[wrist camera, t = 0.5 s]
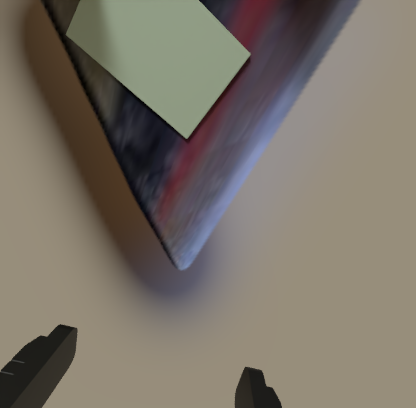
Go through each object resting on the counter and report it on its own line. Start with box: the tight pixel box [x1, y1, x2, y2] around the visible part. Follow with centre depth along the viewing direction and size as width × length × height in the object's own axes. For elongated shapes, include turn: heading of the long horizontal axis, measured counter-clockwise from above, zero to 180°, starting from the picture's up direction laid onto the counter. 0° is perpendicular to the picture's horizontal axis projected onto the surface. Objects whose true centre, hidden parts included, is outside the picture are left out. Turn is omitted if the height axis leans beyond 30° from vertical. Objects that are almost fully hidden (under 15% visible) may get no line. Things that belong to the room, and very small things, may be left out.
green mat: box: [66, 0, 251, 139], centre depth 23 cm, size 12×18×1 cm, turn 50°
